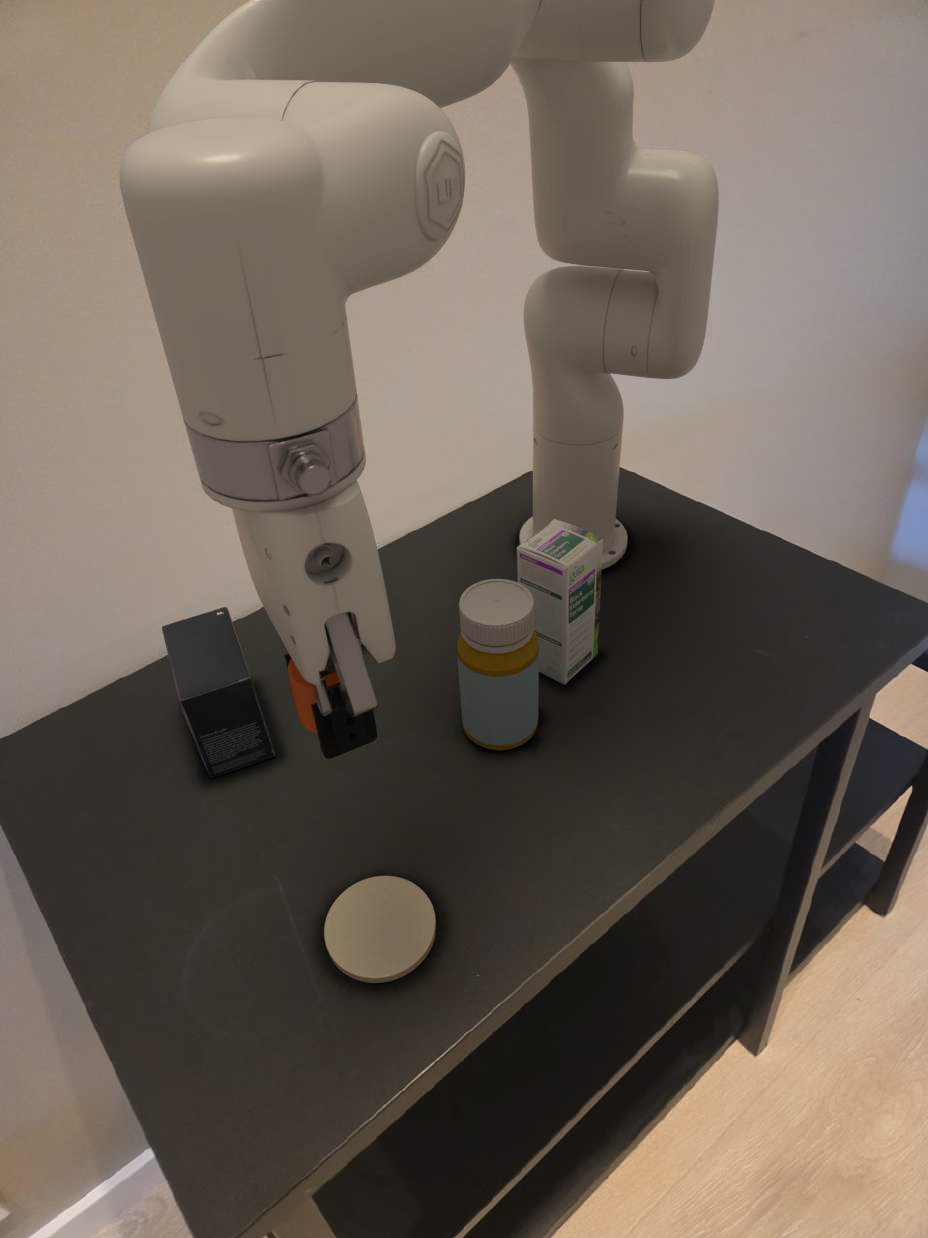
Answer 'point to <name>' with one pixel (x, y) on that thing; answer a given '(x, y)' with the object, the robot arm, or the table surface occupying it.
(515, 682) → the bottle
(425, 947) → the coaster
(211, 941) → the table surface
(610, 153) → the robot arm
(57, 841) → the table surface
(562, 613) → the syrup box
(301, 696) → the cap
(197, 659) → the small box
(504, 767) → the table surface
